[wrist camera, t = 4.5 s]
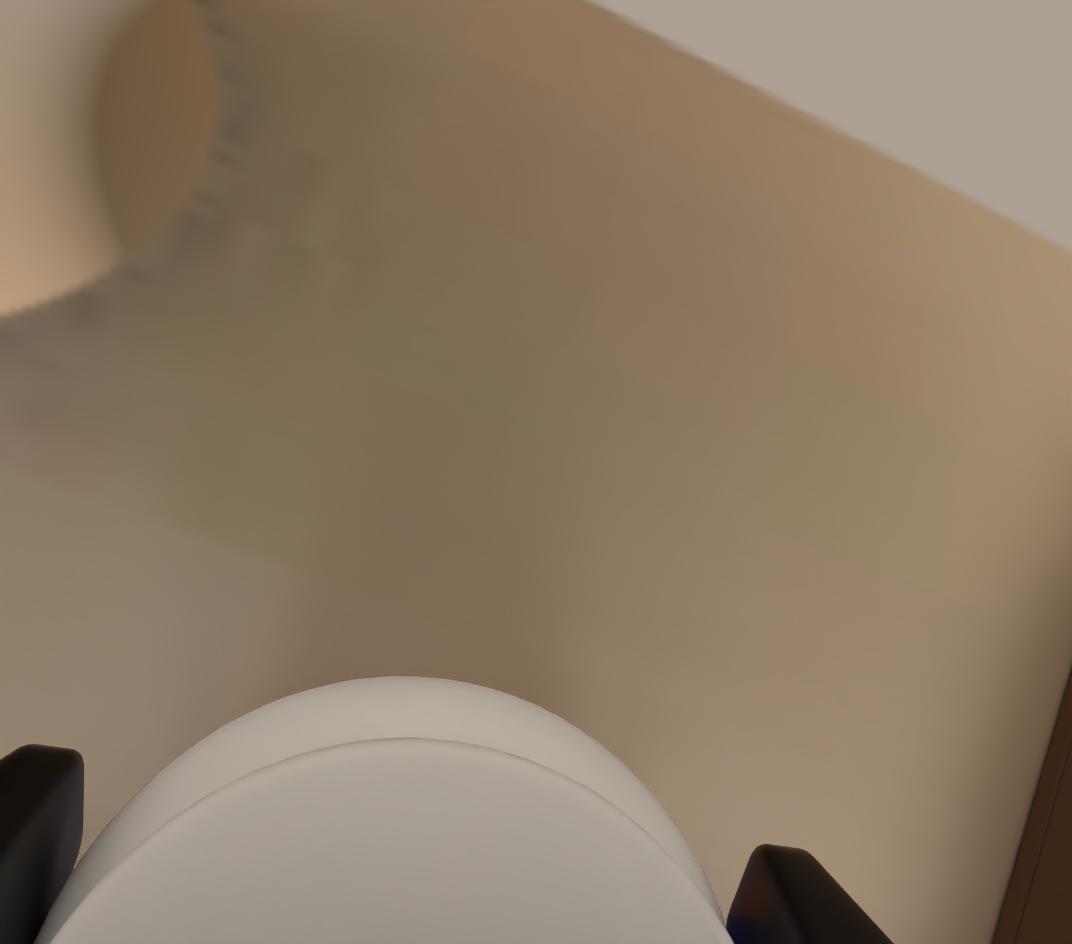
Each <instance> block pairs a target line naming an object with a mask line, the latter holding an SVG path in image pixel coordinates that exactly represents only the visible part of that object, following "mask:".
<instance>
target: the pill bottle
mask: <svg viewBox="0 0 1072 944" xmlns="http://www.w3.org/2000/svg"><path fill="white" fill-rule="evenodd" d="M33 944H734V943H733V941H732V939H731V937H730V936H729V934H728V932H727V929H726V926H725V923H724V920H723V916H722V913H721V911H720V908H719V906H718V904H717V902H716V900H715V897H714V894H713V892H712V889H711V887H710V884H709V882H708V880H707V878H706V876H705V874H704V872H703V870H702V868H701V866H700V865H699V863H698V861H697V859H696V858H695V856H694V854H693V852H692V851H691V849H690V847H689V845H688V843H687V842H686V840H685V838H684V836H683V835H682V833H681V832H680V830H679V829H678V828H677V826H676V825H675V823H674V822H673V820H672V819H671V817H670V816H669V815H668V814H667V812H666V811H665V810H664V808H663V807H662V806H661V805H660V803H659V802H658V801H657V799H656V798H655V797H654V795H653V794H652V793H651V792H650V791H649V790H648V789H647V788H646V787H645V785H644V784H643V783H642V782H641V781H640V780H639V779H638V778H637V777H636V776H635V775H634V774H633V773H632V772H631V771H630V770H629V769H628V768H627V767H626V766H625V765H624V764H623V763H622V762H621V760H619V759H618V758H617V757H615V756H614V755H613V754H612V753H610V752H609V751H608V750H606V748H605V747H604V746H603V745H602V744H601V743H600V742H598V741H596V740H595V739H593V738H592V737H590V736H588V735H587V734H586V733H584V732H583V731H582V730H580V729H579V728H577V727H575V726H574V725H572V724H570V723H568V722H567V721H565V720H564V719H563V718H562V717H560V716H558V715H555V714H553V713H551V712H549V711H547V710H545V709H544V708H542V707H540V706H538V705H536V704H534V703H531V702H528V701H526V700H523V699H521V698H518V697H516V696H513V695H510V694H507V693H504V692H501V691H498V690H495V689H492V688H488V687H484V686H480V685H476V684H472V683H467V682H461V681H456V680H450V679H443V678H431V677H420V676H384V677H373V678H362V679H353V680H348V681H342V682H337V683H332V684H328V685H324V686H320V687H316V688H312V689H309V690H306V691H302V692H299V693H296V694H293V695H289V696H286V697H283V698H281V699H278V700H276V701H273V702H271V703H268V704H266V705H264V706H262V707H260V708H258V709H256V710H254V711H251V712H249V713H247V714H245V715H243V716H241V717H239V718H237V719H235V720H232V721H230V722H229V723H227V724H225V725H224V726H222V727H221V728H219V729H217V730H216V731H214V732H212V733H211V734H209V735H208V736H206V737H205V738H204V739H202V740H201V741H199V742H198V743H196V744H195V745H194V746H192V747H191V748H190V749H188V750H187V751H186V752H184V753H183V754H181V755H180V756H179V757H177V758H176V759H175V760H174V761H172V762H171V763H170V764H169V765H167V766H166V767H165V768H164V769H163V770H161V771H160V772H159V773H158V774H157V775H156V776H155V777H154V778H153V779H152V780H151V781H150V782H149V783H148V784H147V785H146V786H145V787H144V788H143V789H142V790H141V791H140V792H139V793H138V794H137V795H136V796H135V797H134V798H133V799H132V800H131V801H130V802H129V803H128V804H127V805H126V806H125V807H124V808H123V809H122V810H121V811H120V812H119V813H118V814H117V815H116V816H115V817H114V818H113V819H112V820H111V822H110V823H109V824H108V825H107V826H106V827H105V829H104V830H103V831H102V832H101V834H100V835H99V836H98V837H97V839H96V840H95V841H94V843H93V844H92V845H91V847H90V848H89V849H88V851H87V852H86V853H85V855H84V856H83V857H82V859H81V860H80V861H79V863H78V864H77V866H76V867H75V869H74V870H73V871H72V873H71V874H70V876H69V878H68V879H67V881H66V883H65V884H64V886H63V888H62V890H61V891H60V893H59V895H58V896H57V898H56V900H55V901H54V903H53V905H52V907H51V909H50V911H49V913H48V915H47V917H46V919H45V921H44V923H43V925H42V927H41V929H40V931H39V933H38V935H37V937H36V939H35V941H34V943H33Z"/></svg>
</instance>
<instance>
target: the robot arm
mask: <svg viewBox="0 0 1072 944" xmlns="http://www.w3.org/2000/svg"><path fill="white" fill-rule="evenodd" d="M83 803H84V762H83V759H82V755H81V754H80V753H79V752H77V751H76V750H73V749H68V748H60V747H53V746H45V745H38V744H28V745H25V746H22V747H20V748H18V749H16V750H15V751H13V752H11V753H10V754H8V755H7V756H5V757H4V758H2V759H0V944H33V943H34V941H35V939H36V937H37V935H38V933H39V931H40V929H41V927H42V925H43V923H44V921H45V919H46V917H47V915H48V913H49V911H50V909H51V907H52V905H53V903H54V901H55V900H56V898H57V896H58V895H59V893H60V891H61V890H62V888H63V886H64V884H65V883H66V881H67V879H68V878H69V876H70V874H71V873H72V870H73V868H74V865H75V862H76V859H77V856H78V853H79V849H80V845H81V840H82V834H83ZM726 929H727V932H728V934H729V936H730V937H731V939H732V941H733V943H734V944H893V942H892V941H891V940H890V939H889V938H888V937H887V936H886V935H885V934H884V933H883V932H882V931H881V929H880V928H879V927H878V926H877V925H876V924H875V923H874V922H873V921H872V920H871V919H870V917H869V916H868V915H867V914H866V913H865V912H864V911H863V910H862V909H861V908H860V907H859V906H858V904H857V903H856V902H855V901H854V900H853V899H852V898H851V897H850V896H849V895H848V894H847V892H846V891H845V890H844V889H843V888H842V887H841V886H840V885H839V884H838V883H837V882H836V881H835V879H834V878H833V877H832V876H831V875H830V874H829V873H828V872H827V871H826V870H825V869H824V867H823V866H822V865H821V864H820V863H819V862H818V861H817V860H816V859H815V858H814V857H813V856H812V855H811V854H810V853H808V852H807V851H805V850H802V849H799V848H792V847H785V846H778V845H770V844H763V845H760V846H758V847H757V848H756V849H755V850H754V851H753V853H752V854H751V856H750V859H749V861H748V864H747V866H746V869H745V872H744V874H743V877H742V879H741V882H740V885H739V887H738V890H737V892H736V895H735V898H734V900H733V903H732V905H731V908H730V911H729V914H728V918H727V924H726Z"/></svg>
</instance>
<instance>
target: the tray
mask: <svg viewBox="0 0 1072 944" xmlns="http://www.w3.org/2000/svg"><path fill="white" fill-rule="evenodd" d="M993 944H1072V674H1071V677H1070V681H1069V684H1068V687H1067V691H1066V694H1065V698H1064V701H1063V705H1062V708H1061V712H1060V715H1059V718H1058V722H1057V725H1056V729H1055V732H1054V736H1053V739H1052V742H1051V746H1050V749H1049V753H1048V756H1047V760H1046V763H1045V767H1044V770H1043V773H1042V777H1041V780H1040V784H1039V787H1038V791H1037V794H1036V798H1035V801H1034V804H1033V808H1032V811H1031V815H1030V818H1029V822H1028V825H1027V829H1026V832H1025V835H1024V839H1023V842H1022V846H1021V849H1020V853H1019V856H1018V860H1017V863H1016V866H1015V870H1014V873H1013V877H1012V880H1011V884H1010V887H1009V891H1008V894H1007V897H1006V901H1005V904H1004V908H1003V911H1002V915H1001V918H1000V922H999V925H998V928H997V932H996V935H995V939H994V942H993Z"/></svg>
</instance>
